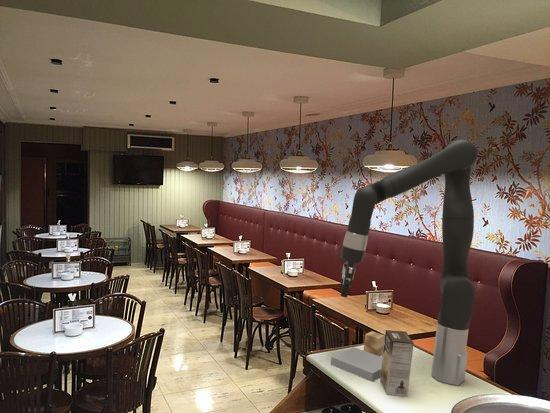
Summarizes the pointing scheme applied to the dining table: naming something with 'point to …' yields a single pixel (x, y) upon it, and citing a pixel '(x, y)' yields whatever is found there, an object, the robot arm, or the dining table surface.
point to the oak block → (374, 343)
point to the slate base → (359, 363)
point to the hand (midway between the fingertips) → (343, 293)
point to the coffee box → (396, 362)
